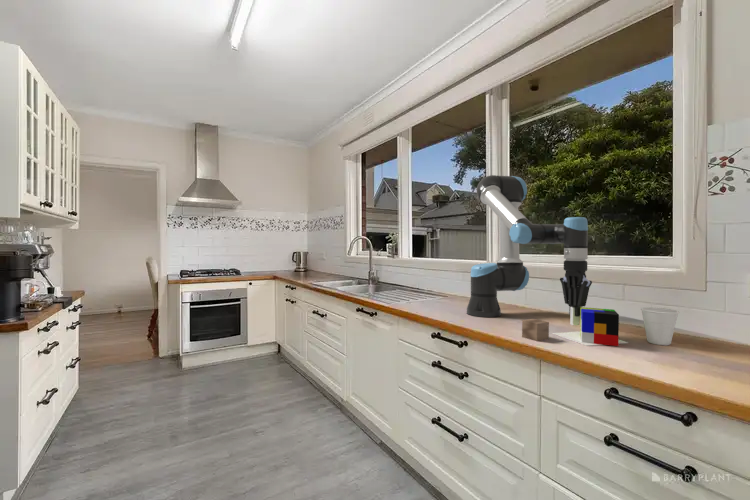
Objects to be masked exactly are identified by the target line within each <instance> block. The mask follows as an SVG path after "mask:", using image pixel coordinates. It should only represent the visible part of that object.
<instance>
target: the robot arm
mask: <svg viewBox="0 0 750 500" xmlns="http://www.w3.org/2000/svg"><path fill="white" fill-rule="evenodd" d="M527 193H528V187H527V183H526V181H525V180H524V179H523V178H521V177H520V176H514V175H494V174H490V175H487V176H484V177H483V178H481V180H480V181H479V182H478V184H477V187H476V195H477V197H478V198H477V199H479V201H481V203H482V204H484V205H487V206H488V208H490V209H491V211H492V212H493V213H494V214H495V215H496V216H497V217H498V219H499V220H498V222H499V225H498V227H499V231H498V232H499V256H500V257H499V259H498V261H496V263H495V262H488V263H486V262H485V263H477V264H474V265H473V266H471V268H470V297H469V299H468V300H469V301H468V302H467V306H466V314H467V315H469V316H473V317H480V318H497V317H500V316H502V314H501V313H502V312H501V311H502V309H501V307H500V304H499V301H498V292H505V291H506V292H507V291H509V292H511V291H513V292H516V291H521V290H523V289H525V288H526V286H528V283H529V280H530V271H529V269H528V268H527V267H526V266H525V265H524V261H523V260H521V258H520V245H521V244H522V245H526V244H527V245H528V244H529V245H530V244H531V245H532V244H534V245H535V244H546V245H547V244H548V245H557V244H559V245H560V244H563V259H565V260H564V261H563V270H564V271H565V273H564V276H563V277H560V278H559V281H560V283H561V288H562V293H563V299H564V304H565V305H568V308H569V309H568V310H569V311H568V313H569V315H570V317H569V318H570V319H569V325H571V326H580V307H586V305H587V300H588V296H589V292H590V288H591V286H592V283H593V281H592V280H589V279H588V278H587V275H586V274H587V273H586V272H587V271H588V261H587V260H588V243H589V241H588V240H589V239H588V238H589V235H588V234H589V226H588V225H589V223H588V218H586V217H582V216H576V217H575V216H571V217H566V218H565V219H564V220H563V223H559V224H558V223H556V224H551V223H545V224H544V223H543V224H542V223H541V224H540V223H532V222H531V221H530V220H529V219H528V218H527V217H526V216H525V214H523V213H522V212H521V210H519V207H520V206H521V205H522V202H523V201H524V200H525V199H526V197H527V196H526V195H527Z"/></svg>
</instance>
